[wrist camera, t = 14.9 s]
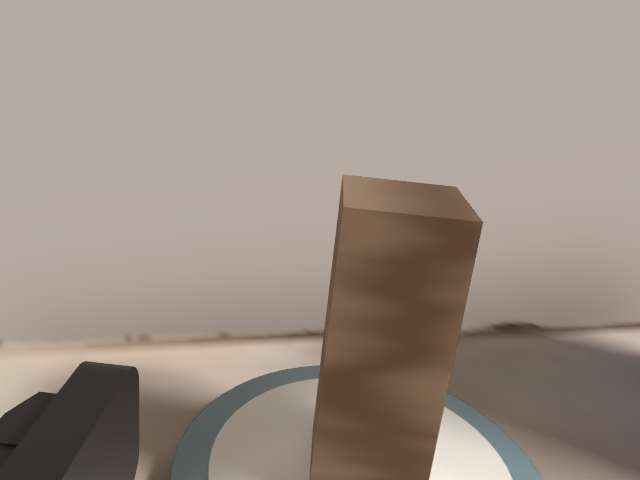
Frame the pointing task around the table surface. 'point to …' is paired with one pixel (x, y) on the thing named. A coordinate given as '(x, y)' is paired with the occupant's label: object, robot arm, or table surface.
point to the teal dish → (297, 428)
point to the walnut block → (391, 327)
